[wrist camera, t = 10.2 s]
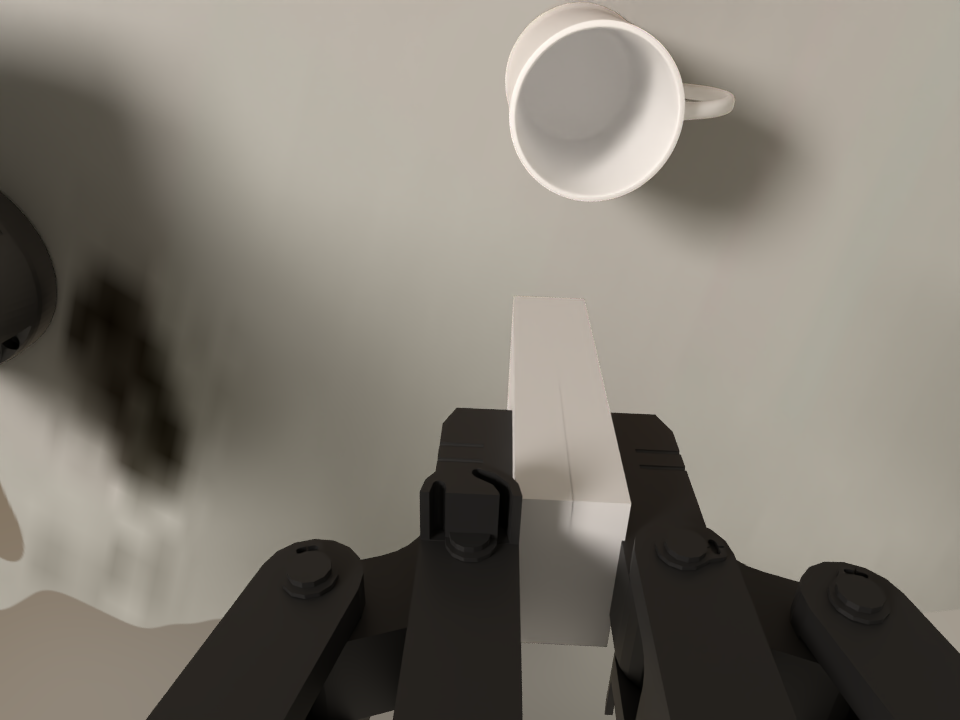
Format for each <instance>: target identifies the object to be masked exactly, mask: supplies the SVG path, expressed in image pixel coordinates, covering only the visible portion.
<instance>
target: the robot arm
mask: <svg viewBox="0 0 960 720" xmlns="http://www.w3.org/2000/svg"><path fill="white" fill-rule="evenodd" d="M56 298H57V288H56V279H55V274H54V269H53V266H52V263H51V260H50V257H49V255H48V252H47V250H46V248H45V246H44V244H43V242H42V240H41V239H40V237H39V235H38V234H37V232H36V230H35V229H34V228H33V226H32V225H31V223H30V222H29V221H28V220H27V218H26V217H25V216H24V215H23V214H22V213H21V211H20V210H19V209H18V208H17V207H16V206H15V205H14V204H13V203H12V202H11V201H10V200H9V199H8V198H6V197H5V196H4V195H3V194H2V193H0V364H2V363H4V362H6V361H8V360H10V359H12V358H14V357H15V356H17V355H18V354H19V353H21V352H22V351H23V350H25V349H26V348H27V347H28V346H30V345H31V344H32V343H34V342H35V341H36V340H37V339H38V338H39V337H40V336H41V335H42V334H43V333H44V332H45V330H46V329H47V327H48V325H49V324H50V322H51V319H52V317H53V314H54V310H55V306H56ZM610 626H611V629H612V635H613V642H614V648H615V653H614V659H613V664H612V670H611V676H610V681H609V686H608V692H607V698H606V706H605V715H612V714H613V709H614V706H615V713H616V720H960V653H959V652H958V651H957V650H956V649H955V648H954V647H953V646H952V645H951V644H950V643H949V642H948V641H947V640H946V638H945V637H944V636H943V635H942V634H941V633H940V632H939V631H938V630H937V629H936V628H935V627H934V626H933V624H932V623H931V622H930V621H929V620H928V619H927V618H926V617H925V616H924V615H923V614H922V613H921V612H920V611H919V609H918V608H917V607H916V606H915V605H914V604H913V603H912V602H911V601H910V600H909V599H908V598H907V597H906V596H905V595H904V593H902V592H901V591H900V590H899V589H898V588H896V587H895V586H894V585H893V584H892V583H890V582H889V581H888V580H887V579H885V578H883V577H881V576H879V575H877V574H876V573H874V572H872V571H870V570H868V569H866V568H863V567H859V566H856V565H852V564H848V563H845V562H822V563H820V564H817V565H814V566H811V567H809V568H808V569H807V571H806V572H805V573H804V574H803V576H802V577H801V579H800V582H797V581H793V580H790V579H786V578H783V577H779V576H776V575H772V574H769V573H765V572H762V571H759V570H757V569H754V568H751V567H748V566H746V565H744V564H743V563H741V562H739V561H737V560H736V558H735V555H734V554H733V552H732V550H731V549H730V547H729V546H728V544H727V543H726V541H725V540H723V539H722V538H721V537H720V536H718V535H717V534H716V533H715V532H713V531H712V530H711V529H709V528H706V525H705V522H704V519H703V516H702V514H701V511H700V508H699V505H698V502H697V499H696V497H695V494H694V491H693V488H692V485H691V482H690V480H689V477H688V474H687V471H685V465H684V463H683V460H682V457H681V455H679V448H678V446H677V443H676V440H675V437H674V434H673V432H672V431H671V430H670V429H669V428H668V427H667V426H666V425H665V424H664V423H663V422H662V421H661V420H660V419H659V418H658V417H657V416H656V415H651V414H628V413H610V408H609V404H608V400H607V395H606V391H605V386H604V382H603V378H602V373H601V369H600V364H599V360H598V356H597V351H596V347H595V342H594V338H593V334H592V329H591V325H590V321H589V316H588V312H587V307H586V303H585V299H580V298H556V297H532V296H514V297H513V315H512V332H511V350H510V368H509V385H508V403H507V410H495V409H473V408H456V409H455V410H454V412H453V413H452V414H451V415H450V416H449V417H448V418H447V419H446V421H445V422H444V423H443V426H442V433H441V439H440V446H439V453H438V461H437V466H436V472H434V473H433V474H432V475H431V476H429V477H428V478H427V479H426V480H425V482H424V484H423V486H422V488H421V490H420V536H419V537H418V538H417V539H416V540H414V541H413V542H412V543H411V544H409V545H408V546H406V547H404V548H402V549H400V550H398V551H396V552H392V553H389V554H386V555H382V556H378V557H373V558H368V559H363V560H360V558H359V557H358V556H357V555H356V554H355V553H354V551H353V550H352V549H351V548H350V547H348V546H345V545H343V544H341V543H338V542H336V541H332V540H319V539H313V540H308V541H302V542H297V543H294V544H292V545H290V546H288V547H286V548H284V549H281V550H279V551H277V552H276V553H275V554H274V555H273V556H272V557H271V558H270V559H269V560H267V561H266V562H265V563H264V564H263V565H262V567H261V568H260V569H259V571H258V572H257V573H256V575H255V576H254V577H253V579H252V580H251V581H250V583H249V584H248V585H247V587H246V588H245V589H244V591H243V592H242V593H241V595H240V596H239V597H238V599H237V600H236V601H235V602H234V604H233V605H232V606H231V608H230V609H229V610H228V612H227V613H226V614H225V616H224V617H223V618H222V620H221V621H220V622H219V624H218V625H217V626H216V628H215V629H214V630H213V632H212V633H211V634H210V636H209V637H208V638H207V640H206V641H205V642H204V644H203V645H202V646H201V647H200V649H199V650H198V652H197V653H196V654H195V655H194V657H193V658H192V660H191V661H190V662H189V664H188V665H187V666H186V667H185V669H184V670H183V671H182V673H181V674H180V675H179V677H178V678H177V679H176V681H175V682H174V683H173V685H172V686H171V687H170V689H169V690H168V692H167V693H166V694H165V695H164V696H163V698H162V699H161V701H160V702H159V703H158V705H157V706H156V707H155V708H154V710H153V711H152V712H151V714H150V715H149V716H148V718H147V719H146V720H369V719H370V716H373V715H377V714H381V713H385V712H388V711H392V710H394V716H393V720H522V671H521V643H541V644H542V643H543V644H561V645H580V646H600V647H607V643H608V637H609V632H610Z"/></svg>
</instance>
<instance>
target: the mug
mask: <svg viewBox="0 0 960 720" xmlns="http://www.w3.org/2000/svg"><path fill="white" fill-rule="evenodd" d="M505 89H506V96H507V101H508V105H509V124H510V132H511V137H512V141H513V144H514V147H515V150H516V152H517V155H518V157H519V159H520V160H521V162H522V164H523V165H524V167H525V168H526V170H527V171H528V172H529V173H530V175H531V176H532V177H533V178H534V179H535V180H536V181H537V182H539V183H540V184H541V185H542V186H544V187H545V188H547V189H548V190H550V191H552V192H553V193H555V194H558V195H560V196H562V197H565V198H569V199H572V200H578V201H587V202H594V201H604V200H610V199H614V198H617V197H620V196H623V195H625V194H628V193H630V192H632V191H634V190H635V189H637V188H639V187H640V186H642V185H643V184H645V183H646V182H647V181H648V180H650V179H651V178H652V177H653V176H654V175H655V174H656V173H657V172H658V171H659V170H660V169H661V168H662V166H663V165H664V164H665V163H666V161H667V160H668V158H669V157H670V155H671V153H672V152H673V150H674V148H675V146H676V144H677V141H678V139H679V136H680V133H681V130H682V126H683V121H684V120H694V119H707V118H714V117H719V116H723V115H726V114H728V113H730V112H731V111H732V110H733V108H734V104H735V97H734V95H733V94H732V93H730V92H728V91H726V90H723V89H719V88H715V87H709V86H703V85H696V84H687V83H682V79H681V76H680V73H679V70H678V68H677V66H676V64H675V62H674V60H673V58H672V57H671V55H670V54H669V52H668V51H667V50H666V48H665V47H664V46H663V45H662V44H661V43H660V42H659V41H658V40H657V39H656V38H655V37H653V36H652V35H651V34H649V33H648V32H646V31H645V30H643V29H641V28H639V27H637V26H635V25H633V24H631V23H628V22H627V21H626V20H625V19H624V18H622V17H621V16H620V15H619V14H617V13H616V12H614V11H612V10H610V9H608V8H606V7H603V6H601V5H597V4H593V3H584V2H577V3H568V4H564V5H560V6H557V7H555V8H552V9H550V10H548V11H546V12H545V13H543V14H541V15H540V16H539V17H537V18H536V19H535V20H533V21H532V22H531V23H530V24H529V25H528V26H527V27H526V28H525V30H524V31H523V32H522V33H521V35H520V36H519V38H518V39H517V41H516V43H515V45H514V47H513V49H512V51H511V54H510V56H509V60H508V63H507V68H506V76H505ZM685 99H691V100H698V102H688V101H685Z"/></svg>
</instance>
